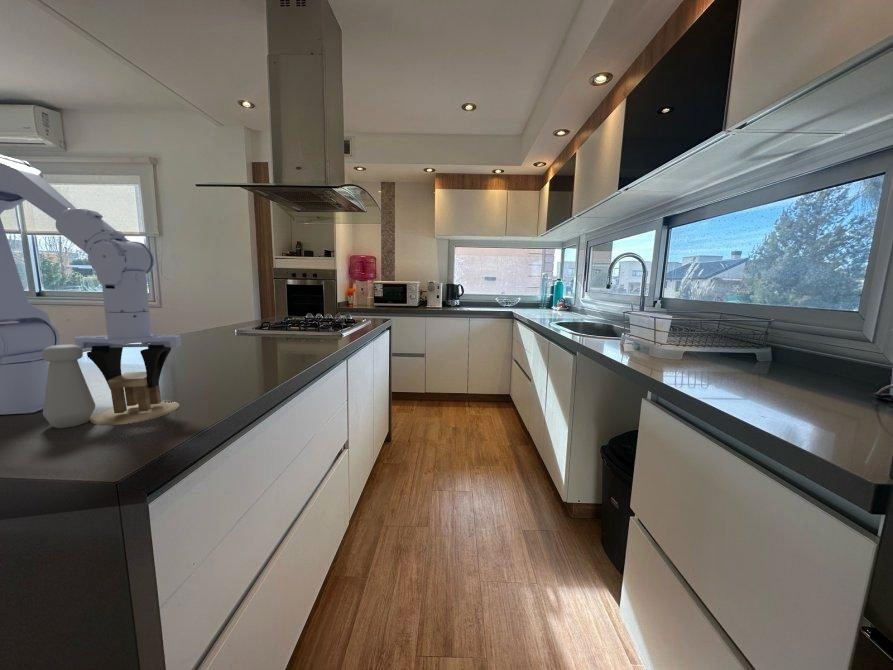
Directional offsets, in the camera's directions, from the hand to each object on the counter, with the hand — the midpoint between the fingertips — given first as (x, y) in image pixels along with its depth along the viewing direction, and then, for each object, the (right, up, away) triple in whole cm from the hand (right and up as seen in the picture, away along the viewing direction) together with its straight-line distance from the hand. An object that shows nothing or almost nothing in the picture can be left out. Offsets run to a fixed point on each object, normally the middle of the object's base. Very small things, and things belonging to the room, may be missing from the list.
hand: (134, 387), depth 62 cm
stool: (0, -4, +1) cm, 4 cm away
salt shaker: (-6, -5, -5) cm, 9 cm away
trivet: (0, -5, +1) cm, 5 cm away
